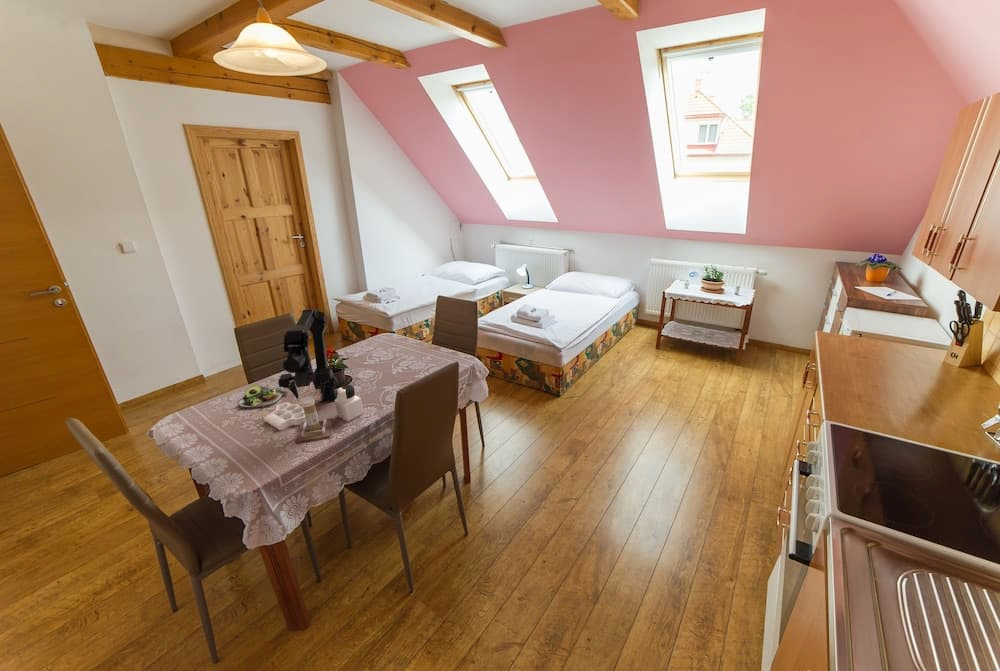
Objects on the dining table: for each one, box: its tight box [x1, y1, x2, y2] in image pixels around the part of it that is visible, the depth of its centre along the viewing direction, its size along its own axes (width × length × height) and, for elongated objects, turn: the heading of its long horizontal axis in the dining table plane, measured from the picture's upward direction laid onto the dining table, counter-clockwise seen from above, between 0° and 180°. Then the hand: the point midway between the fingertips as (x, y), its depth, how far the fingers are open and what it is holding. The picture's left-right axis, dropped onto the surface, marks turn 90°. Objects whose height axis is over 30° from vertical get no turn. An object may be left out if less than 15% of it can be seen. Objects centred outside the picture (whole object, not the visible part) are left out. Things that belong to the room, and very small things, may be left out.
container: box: [334, 384, 364, 422], centre depth 174 cm, size 8×8×13 cm
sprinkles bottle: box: [300, 396, 320, 431], centre depth 164 cm, size 5×5×14 cm
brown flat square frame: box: [295, 417, 334, 444], centre depth 166 cm, size 13×12×2 cm
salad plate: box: [238, 385, 289, 409], centre depth 191 cm, size 19×18×5 cm
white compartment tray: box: [263, 402, 306, 431], centre depth 175 cm, size 3×18×15 cm
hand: (310, 396), depth 166 cm, fingers open, 9 cm apart
